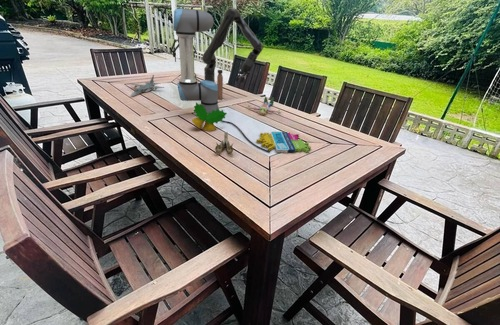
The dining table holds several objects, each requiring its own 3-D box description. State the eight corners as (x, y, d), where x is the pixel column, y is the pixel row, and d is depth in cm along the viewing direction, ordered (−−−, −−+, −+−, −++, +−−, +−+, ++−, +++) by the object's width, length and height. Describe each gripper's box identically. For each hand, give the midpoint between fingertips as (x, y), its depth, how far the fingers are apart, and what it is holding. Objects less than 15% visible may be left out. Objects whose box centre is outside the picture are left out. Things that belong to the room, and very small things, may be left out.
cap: (220, 73, 212) (220, 70, 211) (216, 72, 214) (216, 70, 212) (223, 73, 214) (223, 70, 213) (219, 72, 216) (219, 69, 215)
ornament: (218, 133, 171) (224, 110, 169) (221, 134, 163) (227, 111, 161) (186, 125, 162) (192, 101, 160) (189, 126, 155) (195, 101, 153)
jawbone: (234, 135, 144) (233, 125, 135) (233, 160, 138) (232, 151, 129) (217, 135, 144) (216, 125, 135) (216, 160, 138) (214, 150, 129)
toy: (286, 98, 212) (281, 108, 186) (285, 107, 216) (280, 118, 190) (253, 94, 217) (244, 103, 191) (252, 103, 221) (243, 112, 195)
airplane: (124, 86, 238) (122, 75, 233) (160, 84, 251) (158, 74, 246) (129, 99, 209) (126, 86, 204) (168, 96, 223) (167, 84, 217)
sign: (313, 150, 142) (258, 149, 139) (312, 153, 143) (258, 152, 140) (301, 132, 164) (254, 130, 161) (301, 134, 165) (254, 133, 162)
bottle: (220, 99, 222) (220, 71, 210) (216, 98, 224) (216, 70, 213) (223, 98, 225) (224, 70, 214) (219, 97, 227) (219, 70, 216)
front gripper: (198, 33, 207) (199, 61, 218) (165, 31, 201) (168, 60, 211) (199, 33, 201) (200, 62, 211) (165, 32, 194) (168, 62, 205)
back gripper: (249, 63, 225) (240, 80, 232) (240, 60, 213) (231, 78, 219) (255, 68, 223) (246, 85, 230) (247, 65, 211) (237, 83, 217)
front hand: (184, 61), depth 211 cm, fingers open, 13 cm apart
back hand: (238, 81), depth 225 cm, fingers open, 8 cm apart
